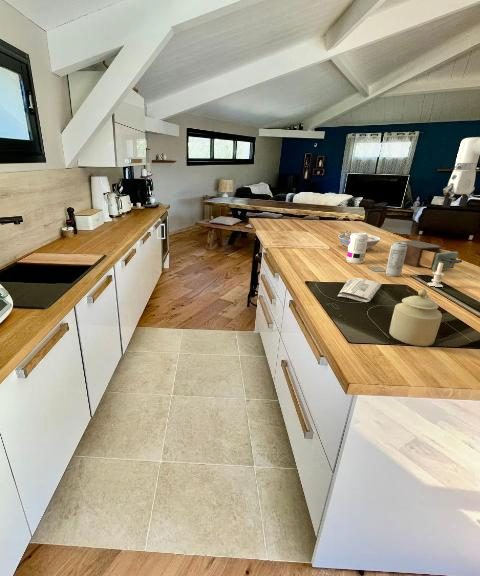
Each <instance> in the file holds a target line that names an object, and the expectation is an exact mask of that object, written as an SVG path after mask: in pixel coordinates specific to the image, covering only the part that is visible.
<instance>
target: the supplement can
mask: <svg viewBox="0 0 480 576" xmlns="http://www.w3.org/2000/svg"><path fill="white" fill-rule="evenodd" d="M350 234H351V235H350V240H349V246H348V247H347V252H346V259H345V261H346V262H347V263H349V264H353V265H361V264H363V263H364V262H365V256H366V251H367V249H366V246H367V241H368V235H369V234H368V233H367V232H361V231H354V232H351V233H350Z"/></svg>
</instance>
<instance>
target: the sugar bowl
mask: <svg viewBox="0 0 480 576" xmlns="http://www.w3.org/2000/svg"><path fill="white" fill-rule="evenodd" d="M427 292H428V291H427V289H425V288H421V289H419V291H418V292H417V295H410V296H407V297H404V298H402V299H401V302H399V303H397V304H396V305H395V306H394V309H393V313H392V317H391V321H390V326H389V330H388V331H389V332H388V333H389V335H390V336H391V337H392V338H393V339H394V340H397V341H399V342H401V343H404V344H407V345H411V346H415V347H416V346H417V347H429V346H432V345H433V344H434V343H435V341H436V337H437V335H438V331H439V329H440V325H441V322H442V318H443V314H442V312H441V311H439V310H438V309H439V304H437V303H436V302H435V301H434V300H433V299H431V298H429V294H428V293H427Z"/></svg>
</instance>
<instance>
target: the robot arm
mask: <svg viewBox="0 0 480 576" xmlns="http://www.w3.org/2000/svg"><path fill="white" fill-rule="evenodd" d="M479 159H480V136H475V137H474V136H472V137H466V138H463V139H462V140H461V142H460V146H459V149H458V153H457V157H456V160H455V164H454V168H453V171H452V173H451V176H450V178H449V180H448V183H447V186H445V187H444V188H443V189H442V191H443V193H442V194H443V203H442V207H443V208H448V209H449V208H451V205H452V202H453V197H454V196H455V195H461V197H460V198H459V202H458V207H463V208H464V207H465V208H466V207H467V205H468V202H469V199H470V198H471V195H472V194H473V192H474V191H475V188H476V187H475V181H476V174H477V170H476V169H477V165H478V162H479Z"/></svg>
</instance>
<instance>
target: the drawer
mask: <svg viewBox="0 0 480 576" xmlns="http://www.w3.org/2000/svg"><path fill="white" fill-rule="evenodd" d="M435 255H436V257H435ZM458 255H459V252H458V251H451V250H446V249H442V248H441V249H438V248H433V249H422V250H421V254H420V258H419V262H418V265H422V267H426V268H428V269H432V271H437V268H438V265H439V263H441V262H442V263H443V268H442V271H443V270H451V269H454V268H455V264H461V263H463V260H462V259H457V258H458ZM434 259H435V261H434ZM433 263H434V264H433Z"/></svg>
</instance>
